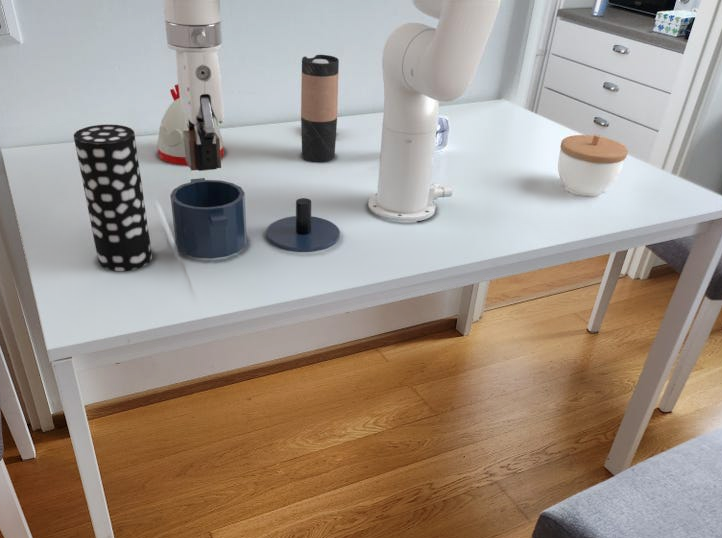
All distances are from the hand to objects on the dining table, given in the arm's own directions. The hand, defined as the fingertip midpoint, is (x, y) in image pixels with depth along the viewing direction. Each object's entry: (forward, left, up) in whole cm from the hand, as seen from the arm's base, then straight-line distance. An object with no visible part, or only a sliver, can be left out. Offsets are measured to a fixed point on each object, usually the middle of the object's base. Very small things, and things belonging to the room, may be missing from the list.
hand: (203, 161), depth 105 cm
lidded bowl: (-77, -2, -14) cm, 79 cm away
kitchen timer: (-5, -43, -14) cm, 46 cm away
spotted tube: (+14, +1, -14) cm, 20 cm away
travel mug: (-31, -34, -14) cm, 48 cm away
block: (0, 0, 0) cm, 0 cm away
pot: (0, 0, -14) cm, 14 cm away
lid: (-16, +2, -14) cm, 21 cm away
